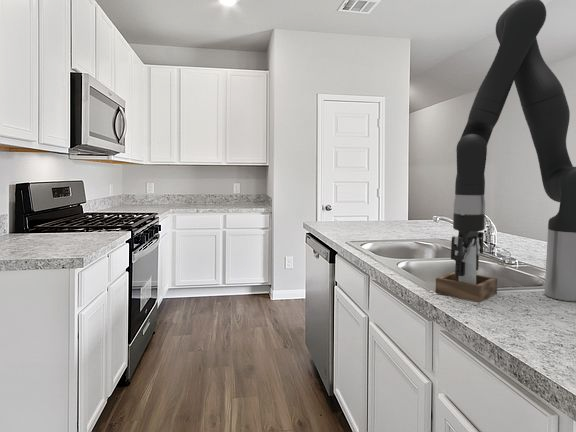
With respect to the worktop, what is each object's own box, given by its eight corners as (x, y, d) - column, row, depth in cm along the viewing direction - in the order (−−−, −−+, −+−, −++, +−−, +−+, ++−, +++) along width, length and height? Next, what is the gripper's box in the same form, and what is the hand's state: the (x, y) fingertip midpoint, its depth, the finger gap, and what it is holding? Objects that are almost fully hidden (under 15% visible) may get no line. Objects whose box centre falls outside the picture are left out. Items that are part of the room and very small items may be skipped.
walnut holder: (454, 284, 115) (455, 271, 115) (496, 293, 107) (497, 278, 106) (435, 292, 108) (435, 278, 107) (478, 302, 99) (479, 286, 99)
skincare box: (476, 293, 103) (478, 246, 102) (457, 291, 105) (459, 245, 104) (475, 287, 109) (477, 243, 108) (457, 285, 111) (458, 242, 110)
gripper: (466, 209, 113) (464, 266, 114) (442, 213, 103) (440, 275, 105) (494, 211, 107) (492, 270, 109) (471, 214, 98) (469, 280, 99)
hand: (466, 272), depth 107 cm, fingers open, 8 cm apart
